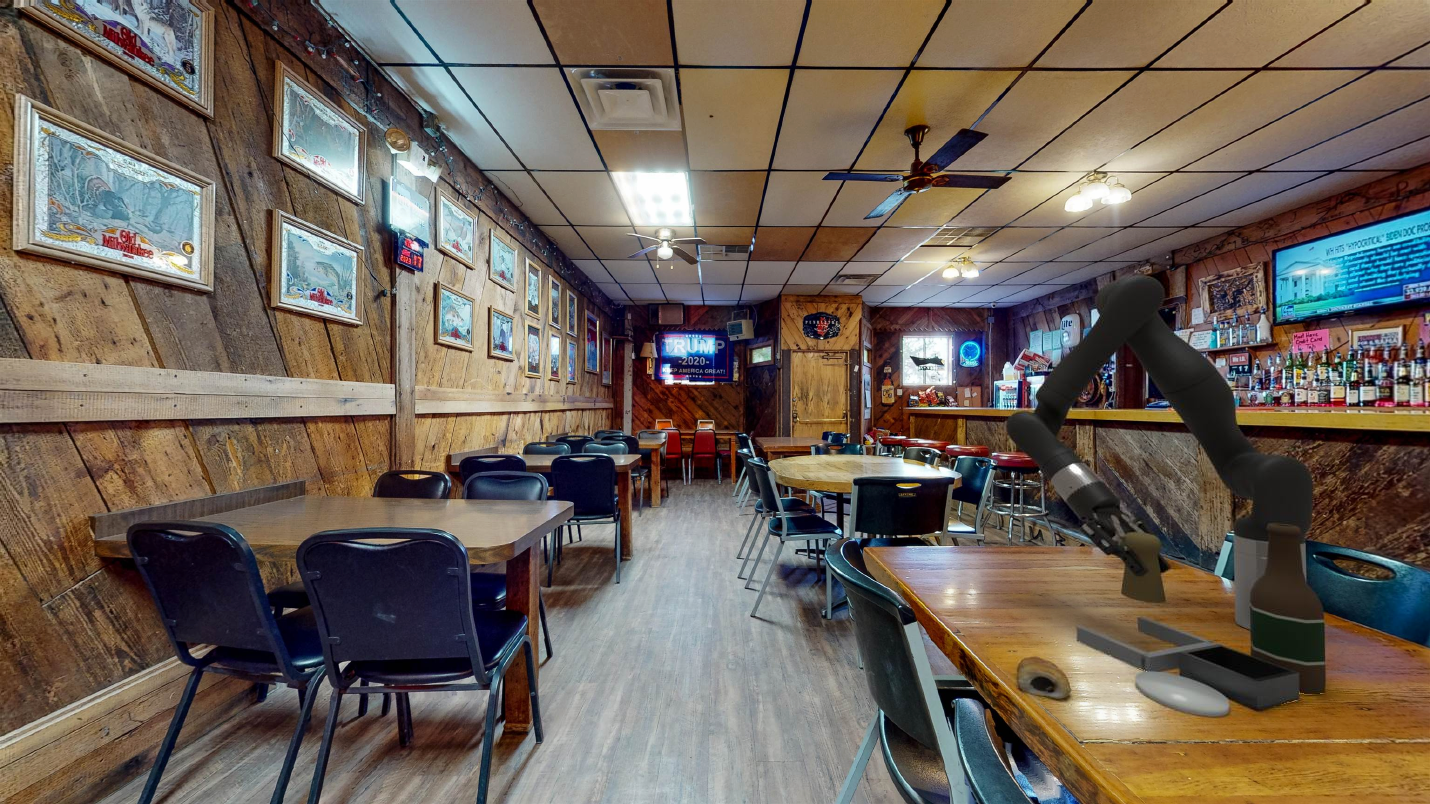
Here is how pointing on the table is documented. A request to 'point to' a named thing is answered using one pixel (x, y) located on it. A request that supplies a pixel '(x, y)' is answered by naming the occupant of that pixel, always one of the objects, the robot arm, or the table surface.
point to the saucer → (1182, 694)
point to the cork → (1151, 582)
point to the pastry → (1042, 678)
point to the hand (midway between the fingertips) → (1154, 572)
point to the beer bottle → (1288, 613)
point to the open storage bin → (1240, 676)
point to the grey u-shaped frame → (1139, 658)
